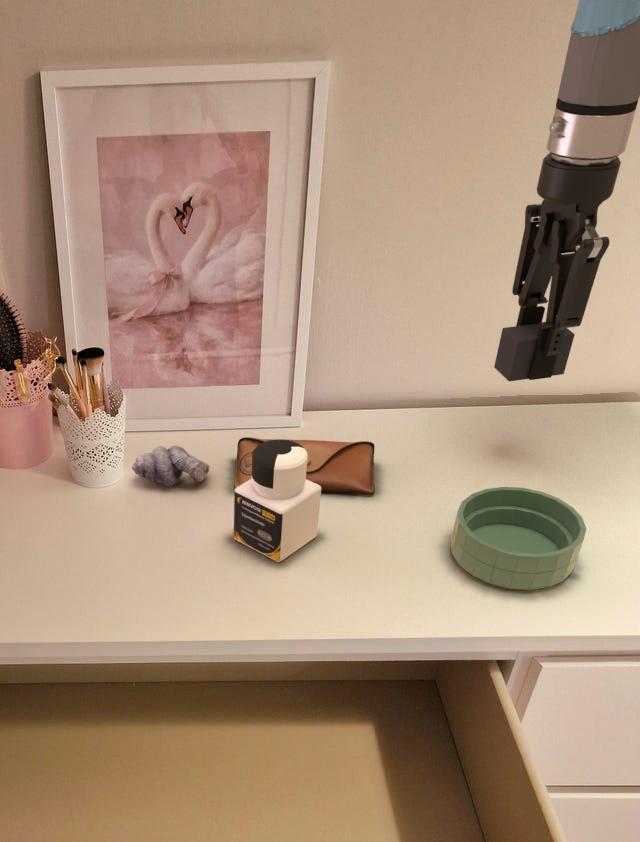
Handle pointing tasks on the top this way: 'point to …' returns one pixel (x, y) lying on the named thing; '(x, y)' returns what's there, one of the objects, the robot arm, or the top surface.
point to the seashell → (169, 466)
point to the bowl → (517, 537)
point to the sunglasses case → (322, 464)
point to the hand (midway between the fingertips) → (529, 368)
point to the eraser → (526, 351)
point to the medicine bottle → (277, 501)
